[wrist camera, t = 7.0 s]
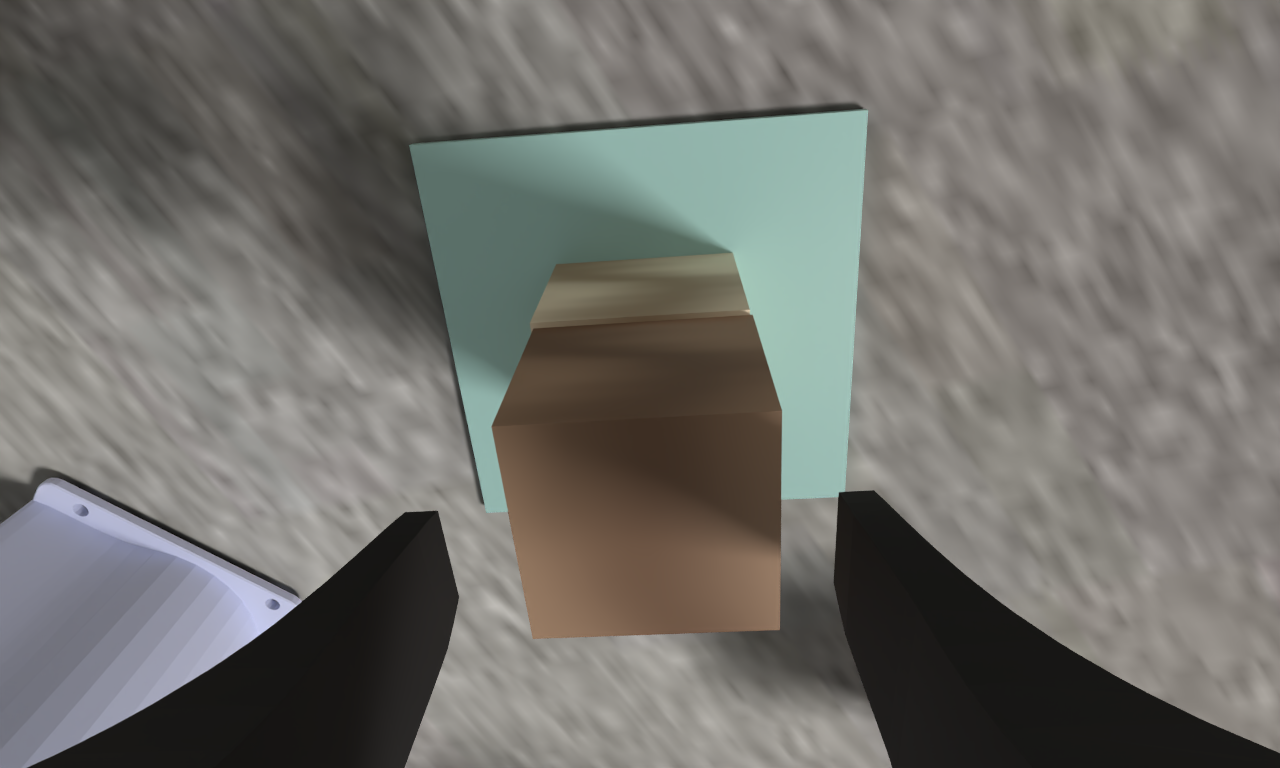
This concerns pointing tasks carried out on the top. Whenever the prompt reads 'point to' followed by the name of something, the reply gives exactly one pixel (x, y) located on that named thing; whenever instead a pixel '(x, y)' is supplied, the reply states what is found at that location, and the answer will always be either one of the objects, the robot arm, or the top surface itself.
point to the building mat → (660, 251)
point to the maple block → (641, 291)
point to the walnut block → (644, 478)
